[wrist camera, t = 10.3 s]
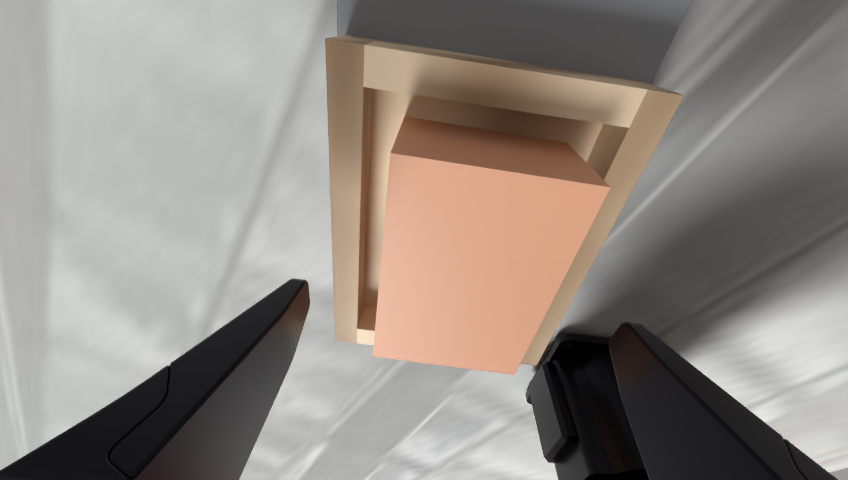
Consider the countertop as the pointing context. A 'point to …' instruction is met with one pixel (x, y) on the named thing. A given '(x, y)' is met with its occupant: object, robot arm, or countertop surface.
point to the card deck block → (477, 242)
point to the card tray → (480, 108)
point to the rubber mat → (529, 30)
